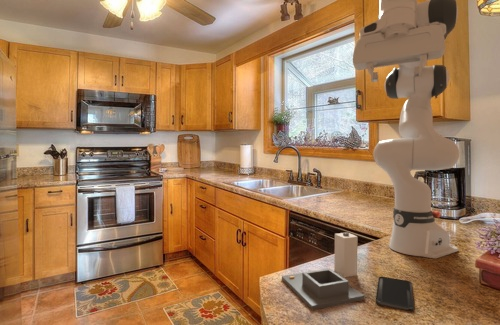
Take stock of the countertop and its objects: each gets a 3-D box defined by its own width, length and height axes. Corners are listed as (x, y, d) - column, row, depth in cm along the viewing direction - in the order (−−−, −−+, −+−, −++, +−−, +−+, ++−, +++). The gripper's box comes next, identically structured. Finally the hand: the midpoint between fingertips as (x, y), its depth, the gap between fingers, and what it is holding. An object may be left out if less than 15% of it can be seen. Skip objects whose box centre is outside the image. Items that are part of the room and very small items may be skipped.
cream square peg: (347, 269, 87) (347, 230, 87) (357, 275, 83) (357, 234, 82) (334, 271, 86) (334, 231, 85) (343, 277, 82) (344, 236, 81)
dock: (326, 272, 85) (326, 258, 85) (364, 299, 70) (364, 283, 69) (281, 279, 80) (281, 265, 80) (312, 310, 65) (312, 292, 65)
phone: (375, 301, 67) (379, 275, 81) (375, 306, 67) (379, 279, 81) (414, 309, 64) (411, 281, 77) (414, 314, 64) (411, 285, 77)
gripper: (445, 29, 72) (446, 79, 69) (357, 45, 82) (354, 89, 79) (447, 10, 67) (448, 63, 63) (353, 30, 77) (349, 76, 74)
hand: (395, 78), depth 71 cm, fingers open, 8 cm apart
